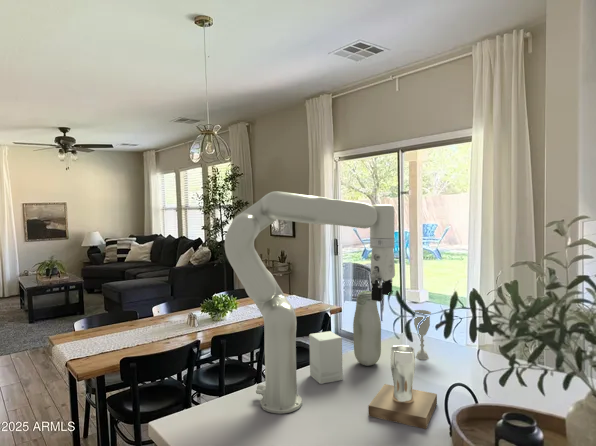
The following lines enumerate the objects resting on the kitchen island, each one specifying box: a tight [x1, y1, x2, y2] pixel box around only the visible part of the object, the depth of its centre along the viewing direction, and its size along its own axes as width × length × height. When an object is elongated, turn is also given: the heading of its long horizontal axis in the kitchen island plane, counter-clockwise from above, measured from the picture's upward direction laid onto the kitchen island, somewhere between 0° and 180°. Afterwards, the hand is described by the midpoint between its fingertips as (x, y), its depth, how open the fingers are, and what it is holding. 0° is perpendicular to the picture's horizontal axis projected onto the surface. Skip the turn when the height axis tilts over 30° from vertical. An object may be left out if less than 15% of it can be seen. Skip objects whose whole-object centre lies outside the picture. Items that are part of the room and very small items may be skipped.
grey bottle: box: [352, 290, 382, 367], centre depth 155 cm, size 10×10×28 cm
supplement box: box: [308, 330, 344, 385], centre depth 144 cm, size 9×9×15 cm
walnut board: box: [367, 383, 438, 430], centre depth 120 cm, size 16×16×3 cm
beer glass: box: [390, 344, 416, 404], centre depth 120 cm, size 7×7×15 cm
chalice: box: [413, 309, 432, 361], centre depth 161 cm, size 7×7×18 cm
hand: (382, 297), depth 129 cm, fingers open, 9 cm apart
